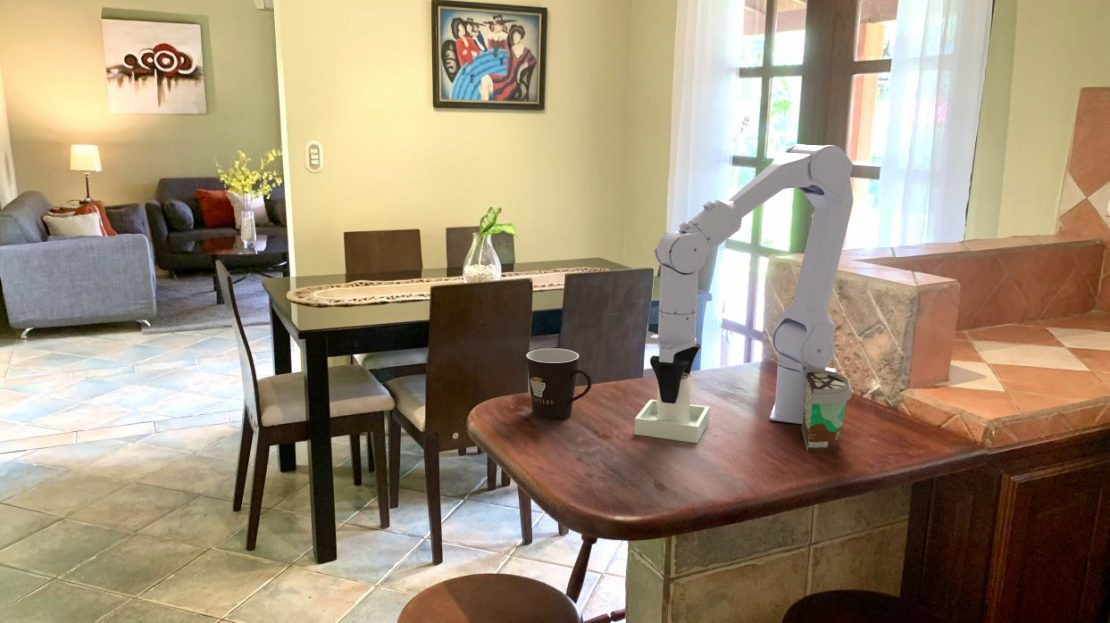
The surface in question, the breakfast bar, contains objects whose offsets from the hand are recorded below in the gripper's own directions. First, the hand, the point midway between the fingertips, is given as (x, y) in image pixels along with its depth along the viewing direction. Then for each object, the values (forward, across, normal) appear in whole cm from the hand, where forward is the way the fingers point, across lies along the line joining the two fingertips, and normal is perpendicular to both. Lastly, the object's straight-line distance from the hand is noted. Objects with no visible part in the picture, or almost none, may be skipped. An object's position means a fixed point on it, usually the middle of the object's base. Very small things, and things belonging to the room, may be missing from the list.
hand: (674, 395), depth 129 cm
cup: (+5, 0, 0) cm, 5 cm away
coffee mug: (+6, +2, -19) cm, 20 cm away
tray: (+6, 0, 0) cm, 6 cm away
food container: (+6, -3, +23) cm, 24 cm away
